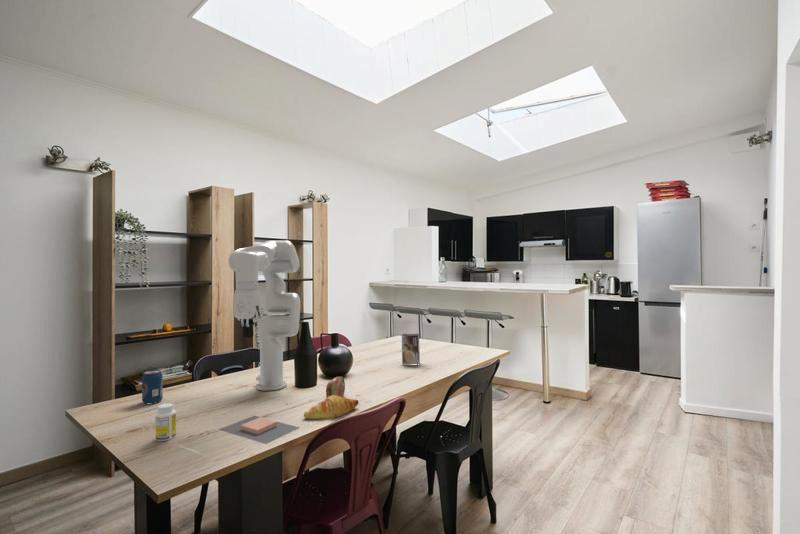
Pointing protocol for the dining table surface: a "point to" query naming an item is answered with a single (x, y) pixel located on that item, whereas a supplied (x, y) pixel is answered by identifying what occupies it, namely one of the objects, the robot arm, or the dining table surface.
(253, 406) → the dining table surface
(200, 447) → the dining table surface
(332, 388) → the tin
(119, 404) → the dining table surface
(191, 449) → the dining table surface
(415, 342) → the coffee box
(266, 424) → the tile
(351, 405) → the croissant
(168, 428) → the supplement bottle
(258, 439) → the mat
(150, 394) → the soda can
